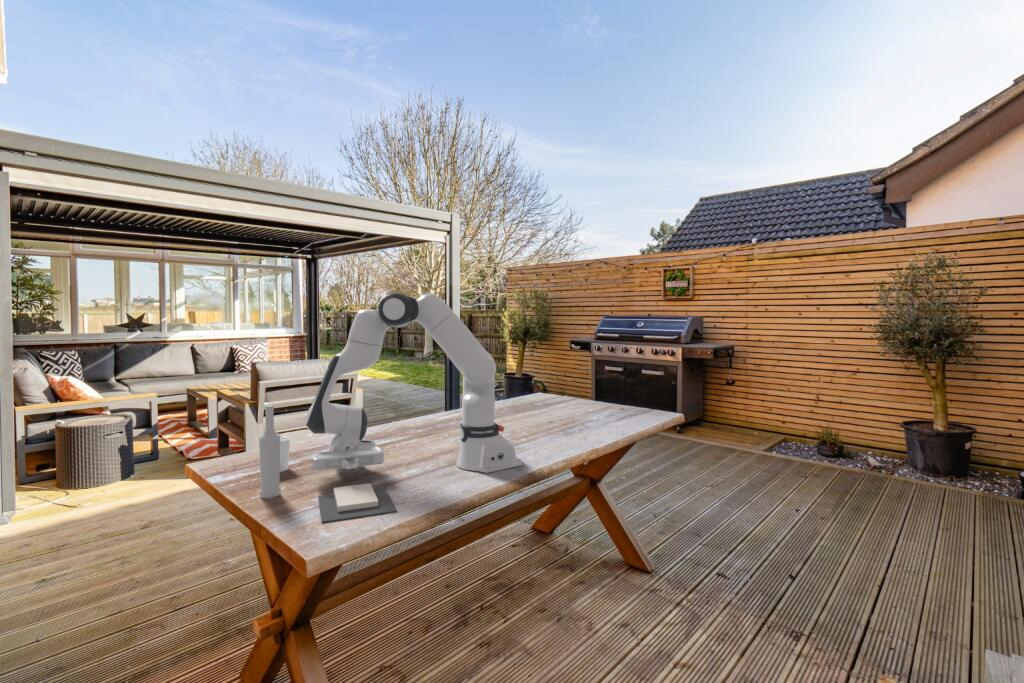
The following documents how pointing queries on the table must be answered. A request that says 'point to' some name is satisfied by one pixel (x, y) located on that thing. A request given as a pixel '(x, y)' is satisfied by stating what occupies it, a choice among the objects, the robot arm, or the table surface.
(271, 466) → the bottle
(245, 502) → the table surface
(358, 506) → the tile
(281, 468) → the white cup
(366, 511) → the mat
